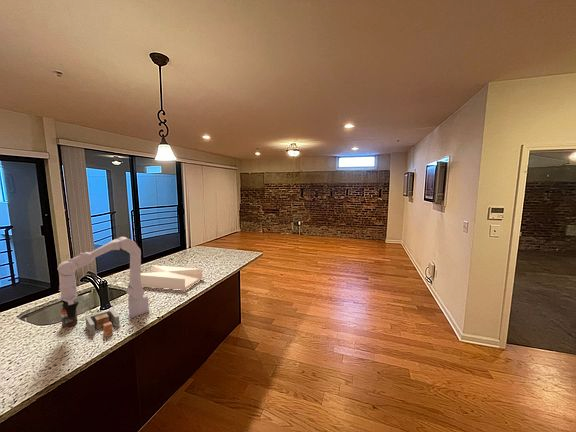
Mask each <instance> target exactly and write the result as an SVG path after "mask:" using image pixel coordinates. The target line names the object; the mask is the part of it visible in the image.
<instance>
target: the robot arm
mask: <svg viewBox="0 0 576 432" xmlns="http://www.w3.org/2000/svg"><path fill="white" fill-rule="evenodd" d="M120 249H121V250H123V251H126V252H127V253H129V274H130V281H129V282H128V284H127V285H128V286H127V288H126V291H125V292H126V294H127V295H128V297H127V303H128V311H126V312H125V313H126V314H127V316H128V317H130V318H135V317H137V316H140V315H143V314H146V313H148V312H150V306H149V304H150V303H149V297H148V296H147V294H145V290H144V287H142V283H141V273H142V271H141V270H142V268H141V267H142V265H141V264H142V258H141V257H142V251H141V250H142V249H141V248H140V247H139V246H138V244H137V242H136V241H134V240H133V239H130V238H128V237H126V236H120V237H118V238H115V239H113V240H110V241H109V242H107V243H105V244H104V245H102V246H100V247H98V248H96V249H94V250H92V251H91V252H89V251H85V252H80V253H79V254H78V255H77V256H75V257H72V258H68V259H67V260H65V261H62V262H60V263H59V265H58V266H57V268H56V269H57V271H58V272H59V276H58V277H59V289H60V297H57V301H61V302H62V303H63V304H61V305H62V306H61V307H62V308H64V309H65V310H66V312H67V315H68V318H71V317H75V312H77V307H78V306H79V301H75V300H76V298H77V297H78V290H77V277H76V271H77V270H79V269H81V268H83V267H85V266H87V265H89V264H91V263H92V262H94V261H95V260H94V259H95V258H97V257H99V256H101V255H104V254H106V253H108V252H111V251H120Z"/></svg>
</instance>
